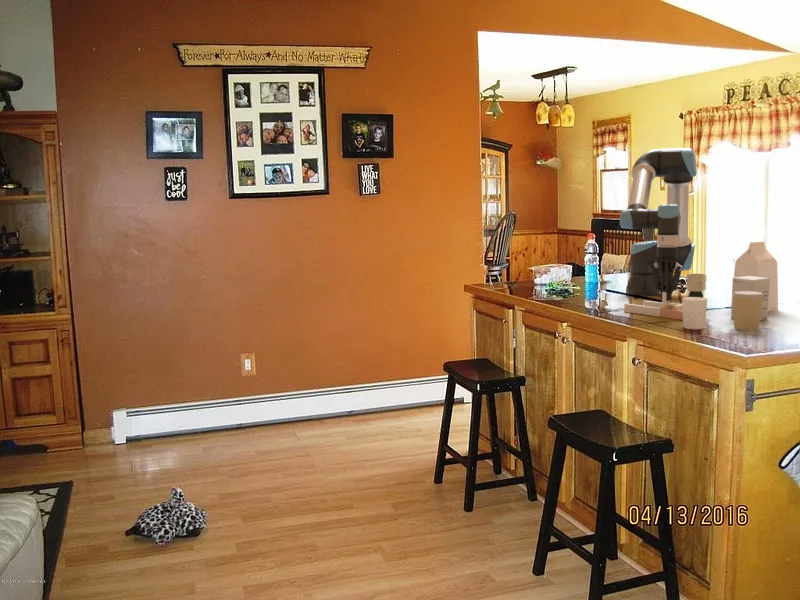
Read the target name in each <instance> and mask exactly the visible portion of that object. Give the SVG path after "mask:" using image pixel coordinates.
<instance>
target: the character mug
mask: <svg viewBox="0 0 800 600" xmlns="http://www.w3.org/2000/svg"><path fill="white" fill-rule="evenodd" d="M706 282H707V274H705V273H687V275H686V291H688V292H689V294H688V297H701V298H704V293H703V292H704V291H706V290H707V286H706Z"/></svg>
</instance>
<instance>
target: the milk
mask: <svg viewBox="0 0 800 600" xmlns="http://www.w3.org/2000/svg"><path fill="white" fill-rule="evenodd" d="M733 272H734V274H733V278H734V277H743V276H754V277H763V278H770V282H769V299H768V312H773V311H774V312H775V311H778V310H779V295H778V294H779V292H778V291H779V287H778V286H779V283H778V281H779V279H778V262H777V259H776V258H775V257H774V256H773V255H772V254H771V253H770V252H769V251H768V250H767V249H766V245H765V241H762V240H761V241H750V243H749V245H748V248H747V250H745V251H744V252H743V253H742V254H741V255H740V256H739V257H737V259H736V261H735V263H734V271H733ZM731 305H732V302H731Z"/></svg>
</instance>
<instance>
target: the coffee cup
mask: <svg viewBox="0 0 800 600" xmlns="http://www.w3.org/2000/svg"><path fill="white" fill-rule="evenodd" d="M762 301H763V293H761V292H755V291H736V292H734V294H733V308H734V319H733V328H735V329H737V330H740V331H741V330H742V331H758V330H759V329H760V326H761V325H760V324H761V320H760V318H761V310H762Z"/></svg>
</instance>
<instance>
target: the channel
mask: <svg viewBox="0 0 800 600" xmlns="http://www.w3.org/2000/svg"><path fill="white" fill-rule="evenodd" d="M660 304H662V301H660V302H659V301H651V300H643V302H642V305H640V304H633V303H632V304H631V303H624V306H623V308H624V309H623V312H625V313H632V314H638V315H643V316H644V315H647V316H652V317H658V318H659V317H660V318H667V319H675V320H679V321H680V320H681V321H683V313H682V311H680V310H672V309H665V308H660Z"/></svg>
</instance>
